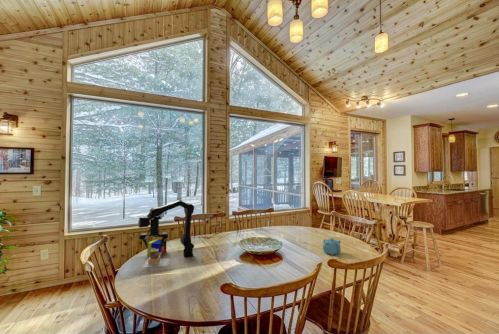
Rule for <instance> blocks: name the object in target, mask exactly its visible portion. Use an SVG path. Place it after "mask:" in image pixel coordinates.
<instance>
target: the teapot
mask: <svg viewBox="0 0 499 334" xmlns="http://www.w3.org/2000/svg"><path fill="white" fill-rule="evenodd" d="M322 241H323V244H322V251H323V252H324V254H326V253H327V254H329V255H330V256H331V255H339V254H341V252H342V249H341V243H342V241H341V240H339V239H338V240H337V239H334V238H332V237H331V238H328V239H326V238H325V239H323V240H322Z"/></svg>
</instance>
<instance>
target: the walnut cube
mask: <svg viewBox="0 0 499 334" xmlns="http://www.w3.org/2000/svg"><path fill="white" fill-rule="evenodd" d="M149 257H150V259H158V257H159V249H151V251H150V255H149Z"/></svg>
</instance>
